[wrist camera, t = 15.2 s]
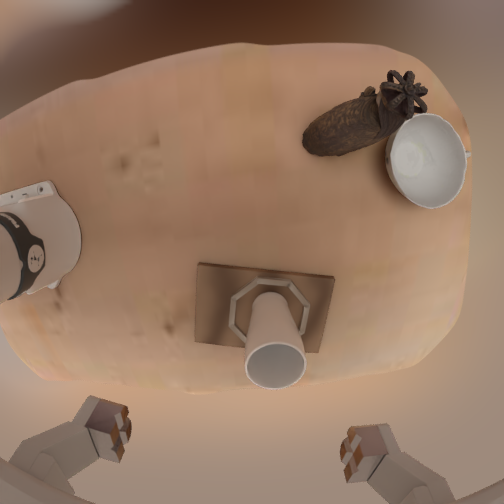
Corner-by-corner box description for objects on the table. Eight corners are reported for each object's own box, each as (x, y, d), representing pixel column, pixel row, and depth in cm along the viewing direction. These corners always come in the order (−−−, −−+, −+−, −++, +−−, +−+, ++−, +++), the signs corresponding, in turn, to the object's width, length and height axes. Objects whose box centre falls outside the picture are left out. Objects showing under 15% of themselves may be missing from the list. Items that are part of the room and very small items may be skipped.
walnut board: (195, 338, 48) (193, 344, 46) (199, 262, 45) (196, 266, 43) (316, 348, 48) (319, 355, 47) (333, 276, 45) (336, 281, 43)
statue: (327, 95, 38) (419, 37, 14) (369, 127, 39) (488, 112, 15) (294, 142, 40) (359, 127, 16) (337, 174, 41) (440, 202, 18)
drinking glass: (292, 325, 46) (305, 389, 32) (247, 326, 46) (244, 391, 32) (293, 284, 44) (309, 339, 30) (246, 286, 44) (242, 341, 30)
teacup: (377, 208, 42) (400, 217, 34) (360, 124, 39) (381, 116, 31) (454, 191, 41) (484, 197, 33) (441, 115, 38) (470, 110, 30)
